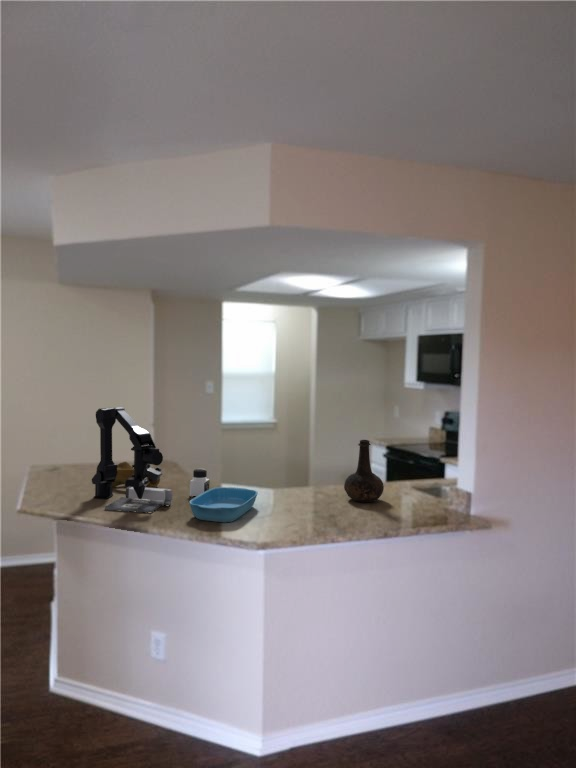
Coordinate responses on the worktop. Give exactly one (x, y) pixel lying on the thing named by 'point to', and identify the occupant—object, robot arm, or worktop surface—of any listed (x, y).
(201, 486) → the medicine bottle
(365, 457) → the glass bottle
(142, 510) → the label board
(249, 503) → the casserole dish
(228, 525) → the worktop surface
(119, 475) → the brown looped sculpture
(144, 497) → the swing arm
